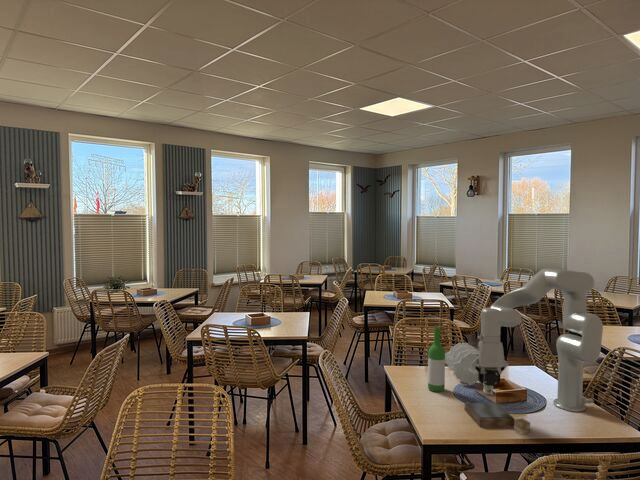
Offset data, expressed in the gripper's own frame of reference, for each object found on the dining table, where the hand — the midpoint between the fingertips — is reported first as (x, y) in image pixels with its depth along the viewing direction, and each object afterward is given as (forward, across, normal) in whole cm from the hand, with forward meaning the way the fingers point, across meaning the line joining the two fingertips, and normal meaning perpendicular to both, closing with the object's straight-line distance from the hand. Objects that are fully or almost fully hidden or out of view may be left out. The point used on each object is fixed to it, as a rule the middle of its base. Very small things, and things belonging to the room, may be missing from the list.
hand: (489, 382), depth 185 cm
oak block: (+15, +8, -12) cm, 21 cm away
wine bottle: (+15, -12, +32) cm, 37 cm away
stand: (+15, 0, 0) cm, 15 cm away
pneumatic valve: (+5, 0, 0) cm, 5 cm away
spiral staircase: (+15, +8, +46) cm, 49 cm away
